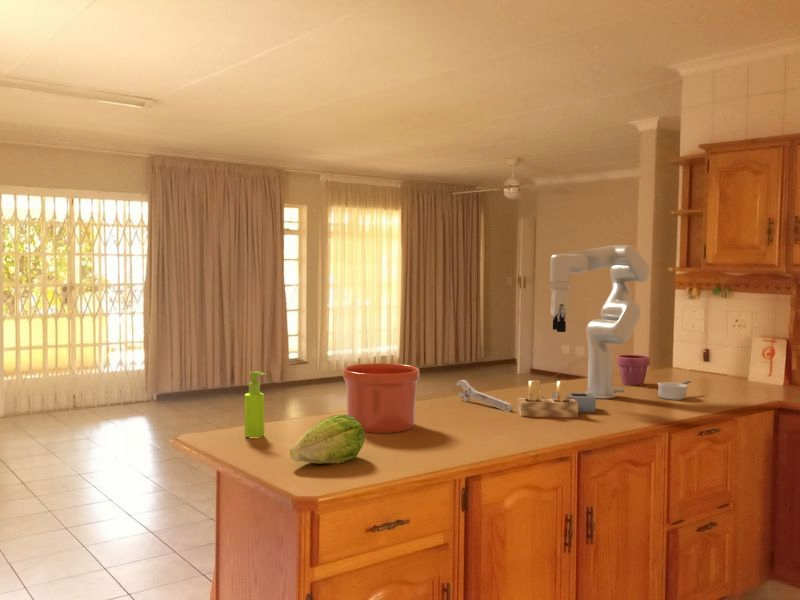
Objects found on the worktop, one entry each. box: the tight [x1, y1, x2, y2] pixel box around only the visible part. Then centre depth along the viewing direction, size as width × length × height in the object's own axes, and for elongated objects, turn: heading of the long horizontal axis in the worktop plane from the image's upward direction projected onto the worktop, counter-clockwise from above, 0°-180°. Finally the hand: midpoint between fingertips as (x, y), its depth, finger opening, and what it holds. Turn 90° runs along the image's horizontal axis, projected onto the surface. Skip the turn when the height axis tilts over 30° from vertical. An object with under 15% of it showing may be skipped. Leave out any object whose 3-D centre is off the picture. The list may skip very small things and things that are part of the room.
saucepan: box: [657, 380, 691, 401], centre depth 292 cm, size 12×20×6 cm, turn 131°
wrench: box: [455, 379, 514, 413], centre depth 271 cm, size 8×2×30 cm
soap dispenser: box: [244, 371, 267, 437], centre depth 217 cm, size 6×7×20 cm
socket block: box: [551, 391, 597, 414], centre depth 264 cm, size 14×10×6 cm
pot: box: [342, 362, 420, 434], centre depth 233 cm, size 25×25×19 cm
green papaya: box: [289, 414, 365, 465], centre depth 190 cm, size 13×22×14 cm
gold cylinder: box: [555, 380, 569, 403], centre depth 254 cm, size 4×4×12 cm
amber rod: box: [527, 379, 541, 402], centre depth 255 cm, size 4×4×12 cm
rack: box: [517, 397, 579, 418], centre depth 255 cm, size 20×8×5 cm, turn 87°
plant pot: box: [616, 354, 651, 386], centre depth 322 cm, size 14×14×13 cm
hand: (559, 330), depth 274 cm, fingers open, 9 cm apart
